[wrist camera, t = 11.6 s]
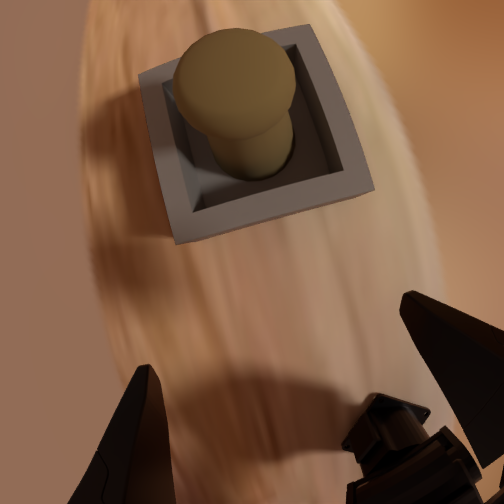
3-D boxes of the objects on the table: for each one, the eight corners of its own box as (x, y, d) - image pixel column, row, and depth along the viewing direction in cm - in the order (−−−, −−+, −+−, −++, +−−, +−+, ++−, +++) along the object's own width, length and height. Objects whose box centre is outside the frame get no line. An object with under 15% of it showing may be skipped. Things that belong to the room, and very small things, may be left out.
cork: (218, 190, 21) (160, 154, 10) (204, 112, 21) (147, 31, 10) (304, 172, 21) (327, 118, 10) (285, 95, 20) (286, -2, 9)
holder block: (354, 197, 21) (375, 189, 16) (197, 241, 23) (175, 244, 18) (305, 58, 21) (309, 24, 16) (162, 100, 22) (138, 74, 17)
